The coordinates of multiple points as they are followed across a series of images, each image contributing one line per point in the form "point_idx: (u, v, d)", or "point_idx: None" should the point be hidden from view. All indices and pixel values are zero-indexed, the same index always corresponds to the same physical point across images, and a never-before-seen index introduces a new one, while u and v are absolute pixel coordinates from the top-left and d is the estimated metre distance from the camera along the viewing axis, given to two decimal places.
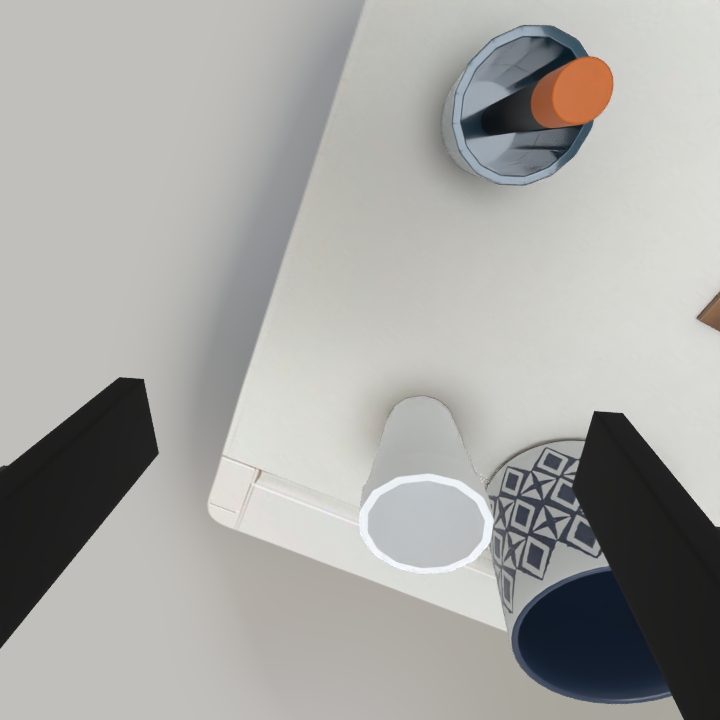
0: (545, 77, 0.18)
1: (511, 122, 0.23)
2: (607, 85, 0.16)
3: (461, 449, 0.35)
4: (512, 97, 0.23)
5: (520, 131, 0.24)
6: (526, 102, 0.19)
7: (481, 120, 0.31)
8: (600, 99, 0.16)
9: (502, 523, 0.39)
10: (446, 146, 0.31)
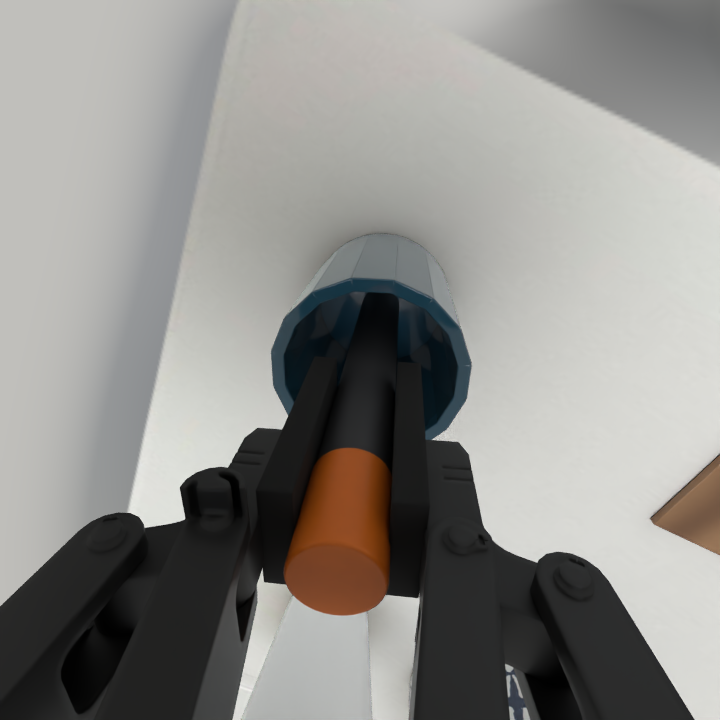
0: (315, 474, 0.11)
1: None
2: (376, 579, 0.09)
3: (352, 695, 0.28)
4: (342, 374, 0.16)
5: None
6: None
7: None
8: (369, 593, 0.09)
9: None
10: None
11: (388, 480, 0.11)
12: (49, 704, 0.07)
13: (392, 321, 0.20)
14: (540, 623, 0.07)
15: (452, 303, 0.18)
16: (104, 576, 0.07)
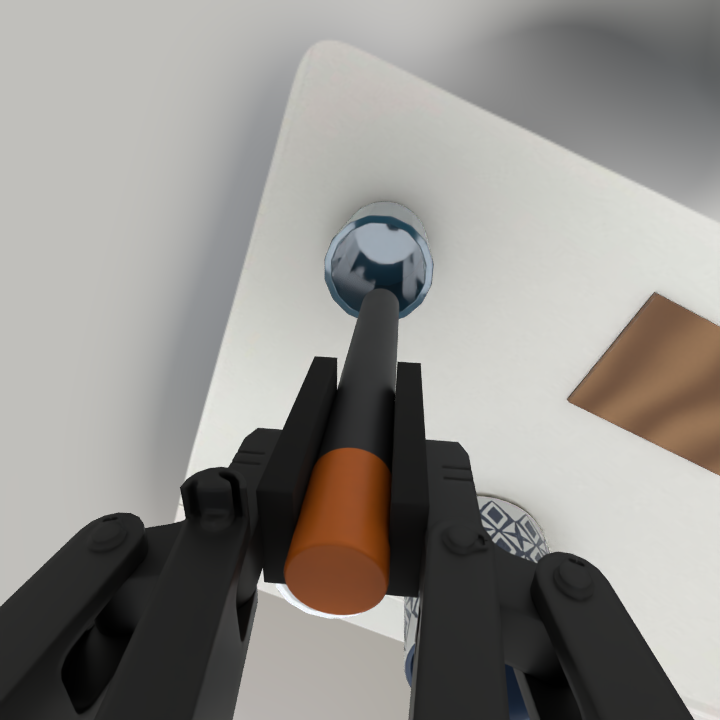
0: (315, 474, 0.11)
1: None
2: (376, 579, 0.09)
3: None
4: (342, 374, 0.16)
5: None
6: None
7: None
8: (369, 593, 0.09)
9: None
10: None
11: (388, 480, 0.11)
12: (49, 704, 0.07)
13: (392, 321, 0.20)
14: (540, 623, 0.07)
15: (424, 235, 0.32)
16: (104, 576, 0.07)
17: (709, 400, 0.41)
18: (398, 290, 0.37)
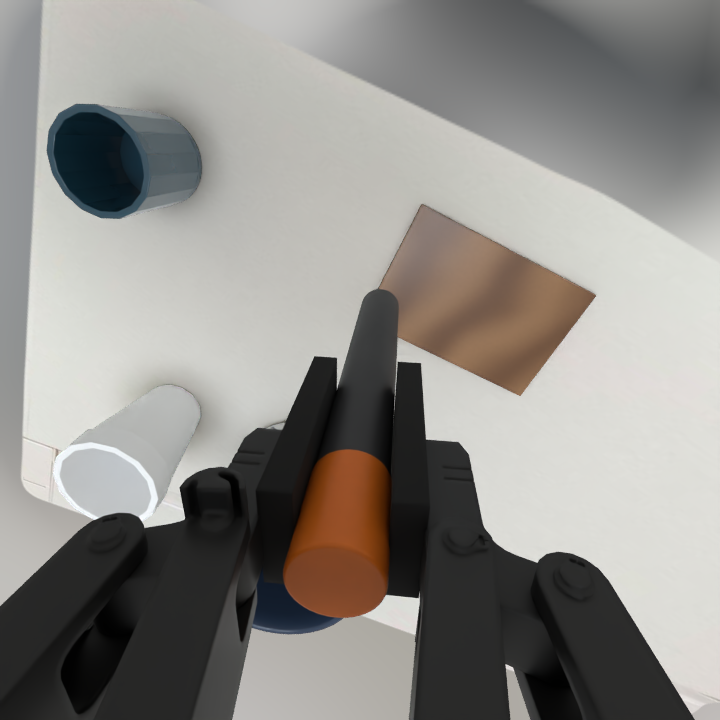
0: (315, 476, 0.11)
1: None
2: (375, 581, 0.09)
3: (159, 426, 0.43)
4: (342, 375, 0.16)
5: None
6: None
7: None
8: (368, 595, 0.09)
9: None
10: None
11: (387, 482, 0.11)
12: (49, 704, 0.07)
13: (392, 322, 0.20)
14: (541, 622, 0.07)
15: (154, 132, 0.33)
16: (104, 576, 0.07)
17: (492, 315, 0.42)
18: None
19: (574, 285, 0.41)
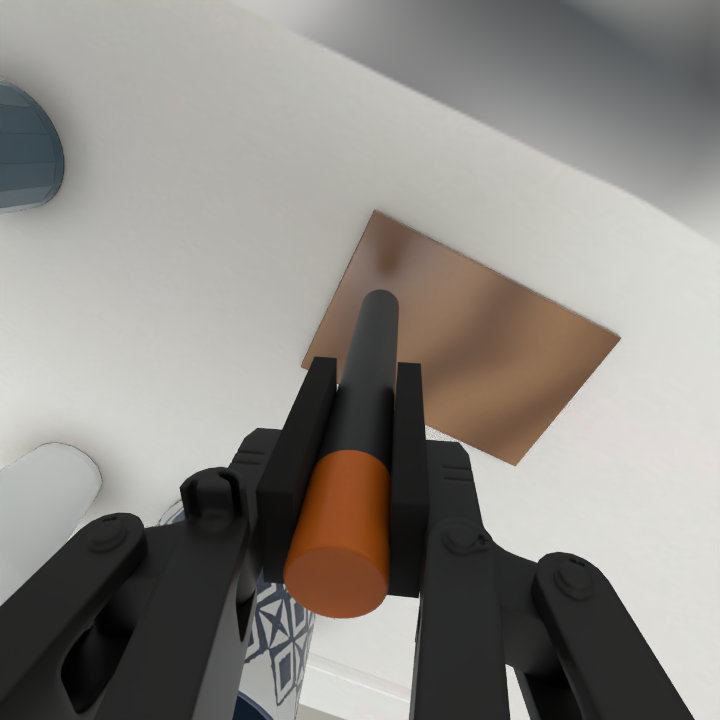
0: (315, 477, 0.11)
1: None
2: (376, 582, 0.09)
3: (16, 513, 0.31)
4: (342, 375, 0.16)
5: None
6: None
7: None
8: (368, 596, 0.09)
9: None
10: None
11: (388, 482, 0.11)
12: (49, 704, 0.07)
13: (392, 322, 0.20)
14: (540, 623, 0.07)
15: None
16: (104, 576, 0.07)
17: (477, 363, 0.31)
18: None
19: (591, 324, 0.29)
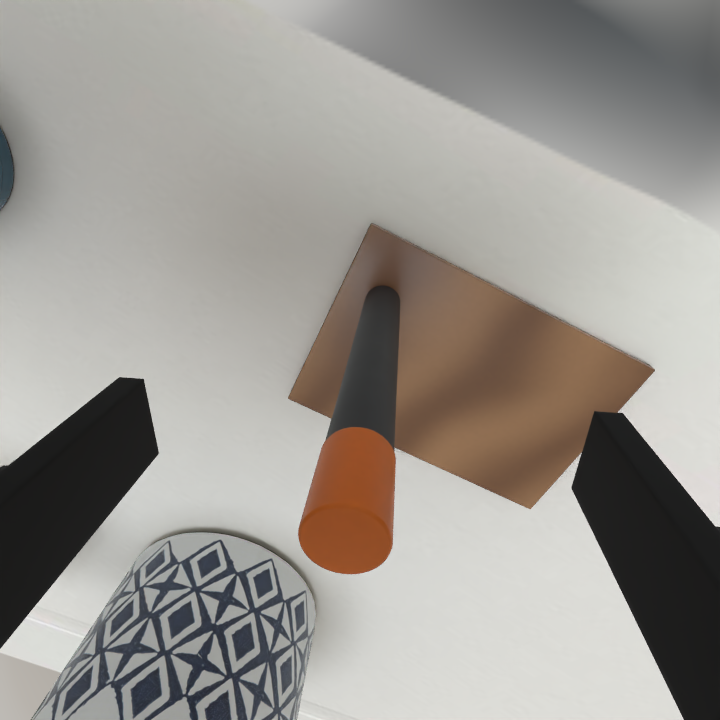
0: (325, 450, 0.12)
1: None
2: (381, 539, 0.10)
3: None
4: (348, 364, 0.17)
5: None
6: None
7: None
8: (374, 552, 0.10)
9: None
10: None
11: (391, 456, 0.12)
12: None
13: (394, 316, 0.21)
14: None
15: None
16: None
17: (488, 396, 0.27)
18: None
19: (620, 354, 0.25)
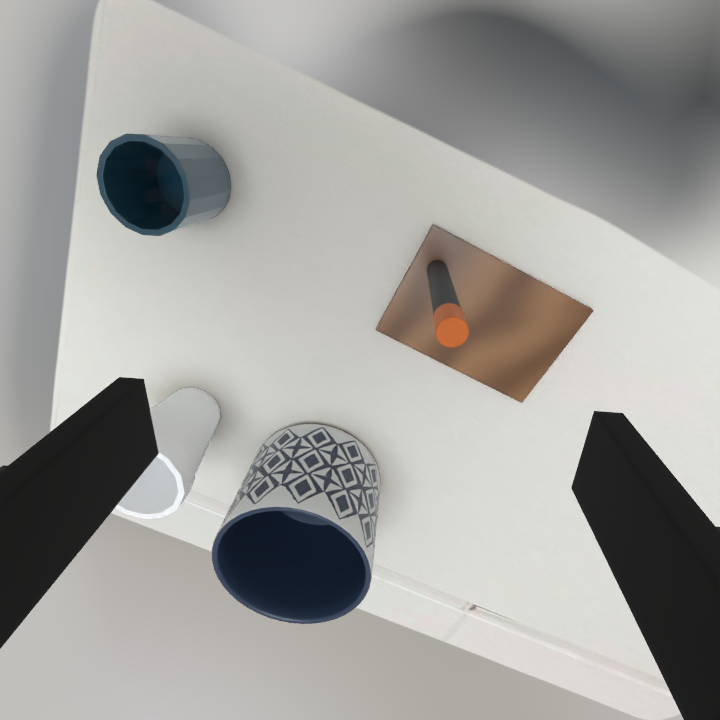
0: (438, 310, 0.30)
1: None
2: (465, 330, 0.28)
3: (184, 426, 0.46)
4: (433, 290, 0.35)
5: None
6: (433, 312, 0.32)
7: None
8: (462, 336, 0.29)
9: None
10: None
11: (463, 313, 0.30)
12: None
13: (448, 273, 0.40)
14: None
15: (192, 158, 0.36)
16: None
17: (497, 327, 0.46)
18: None
19: (573, 301, 0.44)
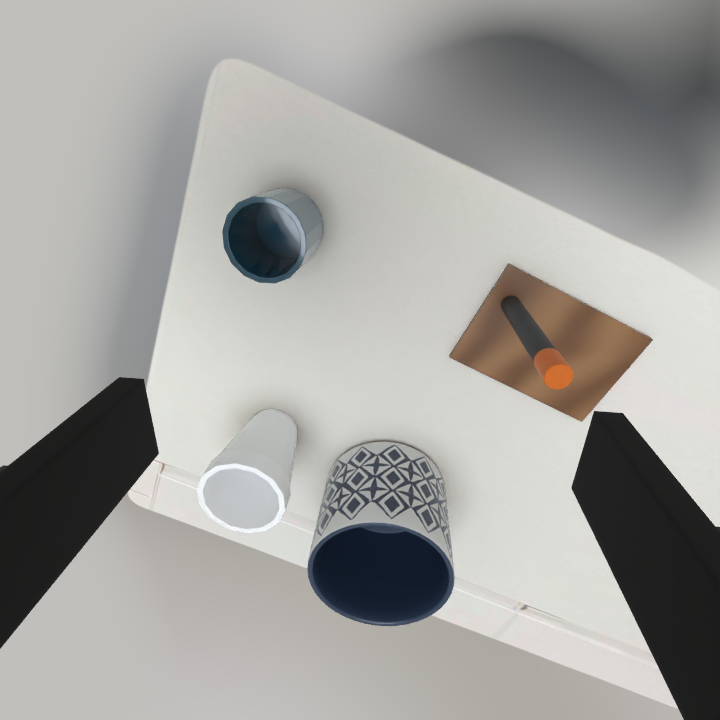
0: (541, 355, 0.35)
1: None
2: (570, 375, 0.33)
3: (278, 447, 0.50)
4: (522, 330, 0.40)
5: None
6: (531, 354, 0.36)
7: (501, 304, 0.48)
8: (567, 380, 0.33)
9: (322, 501, 0.55)
10: None
11: None
12: None
13: (527, 311, 0.44)
14: None
15: (304, 213, 0.40)
16: None
17: (562, 355, 0.50)
18: (296, 260, 0.45)
19: (634, 331, 0.48)
